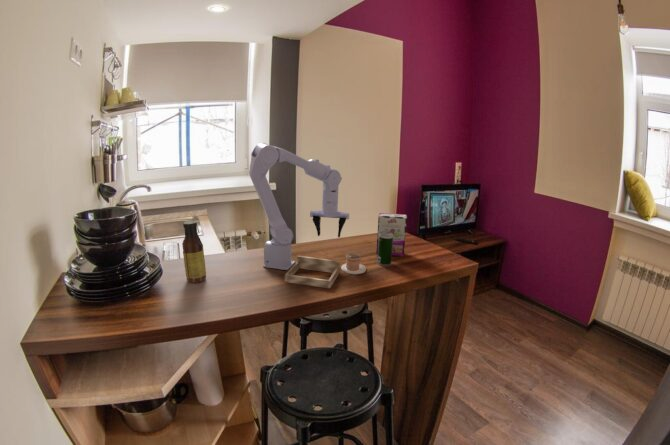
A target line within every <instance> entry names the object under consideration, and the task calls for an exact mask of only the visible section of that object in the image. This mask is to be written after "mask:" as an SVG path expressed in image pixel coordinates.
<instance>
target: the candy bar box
mask: <svg viewBox="0 0 670 445" xmlns="http://www.w3.org/2000/svg"><path fill="white" fill-rule="evenodd" d="M377 219H378V221H377V239H376V249H375V250H376V252H375V253H376V255H378V243H379V235H380V232H391V233H393V236H394V237H393V248H392V257H404V256H405V246H406V245H405V244H406V234H407V222H408V215H407V214H403V213H402V214H401V213H389V212H388V213H387V212H386V213H385V212H383V213H382V212H379V214H378V218H377Z"/></svg>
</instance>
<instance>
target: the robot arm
mask: <svg viewBox="0 0 670 445" xmlns="http://www.w3.org/2000/svg"><path fill="white" fill-rule="evenodd" d="M250 156H251V158H250V165H249V170H248V174H249V177H250V180H251V182H252V184H253V187H254V188H255V191H256V194H257V196H258V198H259V201H260V203H261V205H262V208H263V210H264V213H265V215H266V218H267V220H268V225H269V233H270V235H271V237H272V238H271V240H267V241H266V242H265V244H264V245H263V246H264V247H263V261H264V262H263V263H264V264H263V268H268V269H275V270H283V271H289V270H290V269H291V267H292V266H293V265H294V264H295V263H296V261H295V260H292V241H293V239H294V233H293V231H292V229H291V228H289V227H288V225H287V223H286V221H285V220H284V218H283V216H282V214H281V210H280V208H279V206H278V203H277V201H276V198H275V196H274V194H273V190H272V188H271V185H270V183H269V181H268V179H267V174H268V172H269V171H270V169H271V167H273V166H274V165H275V164H276V163H277V162H278V163H283V162H287V163H289V164H292V165H294V166H297V167H299V168H301V169H303V171H304V173H305V175H307V176H310V177H311V178H314V179H316V180H318V181H320V182H322V204H321V205H322V207H321V210H310V212H309V217H310V218H312V222H313V224H314V226H315V229H316V234H317V237H320V236H321V219H322V218H330V219H338V230H337V231H338V232H337V238H341V232H342V230H343V227H344V226H345V223H346V221H347V220H349V219H350V212H343V211H338V208H339V207H338V204H339V185H340V183H341V182H342V179H343V178H342V175H341V173H340V172H339V170H337V169H334V168H332V167H331V165H330V164H329V165H328V164H324V163H322V162H320V160H319V159H318V158H314V159H313V158H310V159H308V160H306V159H305V158H304V157H301V156H299V155H297V154H295V153H293V152H291V151H289V150H287V149H284V148H282V147H278V146H275V145H271V144H270V145H269V144H268V143H265V142H261V143H260V142H259V143H258V144H256V145H255V146H254V148H253V150H252V151H251V154H250Z"/></svg>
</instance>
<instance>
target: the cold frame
mask: <svg viewBox="0 0 670 445" xmlns="http://www.w3.org/2000/svg"><path fill="white" fill-rule="evenodd" d="M340 263H341V261H340V260H334V259H326V258H320V257H319V258H318V257H312V256H303V255H297V256H296V261H295V263H294V264H293V265H292V266H291V267H290V268H289V269H288V270H287V272H286V273H285V274H284V282H285V283H291V284H298V285H303V286H311V287H317V288H325V289H331V288H332V286H333V285H334V283H335V281H336V279H337V277H338V276H339V274H340V268H341V266H340ZM299 269H303V270H311V271H316V272H317V271H318V272H324V273H331V276H330V277H329V279H323V278H317V277H309V276H303V275H302V276H301V275H295V274H296V272H298V270H299Z"/></svg>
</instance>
